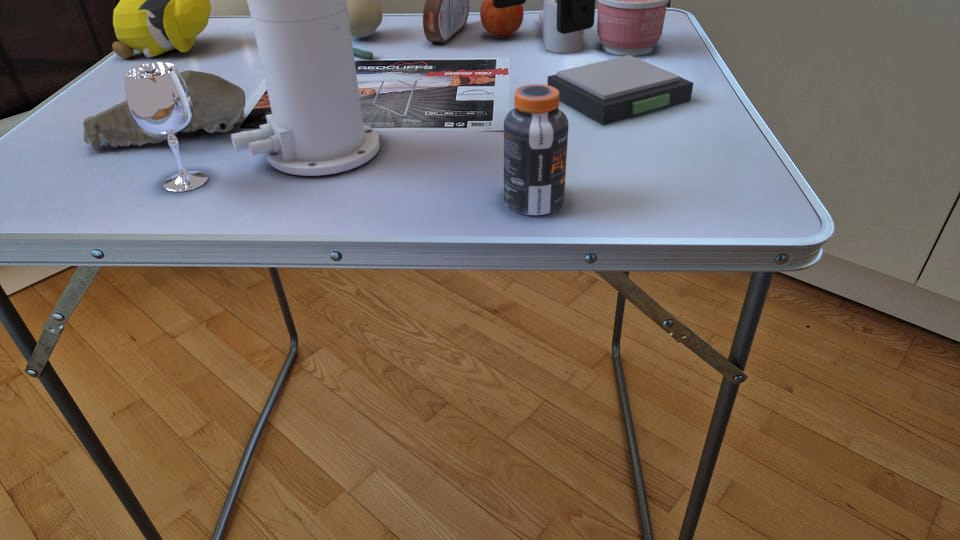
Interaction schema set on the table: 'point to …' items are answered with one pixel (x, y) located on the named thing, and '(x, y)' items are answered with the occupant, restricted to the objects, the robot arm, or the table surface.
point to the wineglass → (163, 112)
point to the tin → (444, 18)
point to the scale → (619, 88)
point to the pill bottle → (535, 151)
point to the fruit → (501, 19)
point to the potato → (363, 17)
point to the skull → (211, 111)
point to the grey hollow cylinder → (550, 34)
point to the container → (630, 25)
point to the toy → (158, 25)
